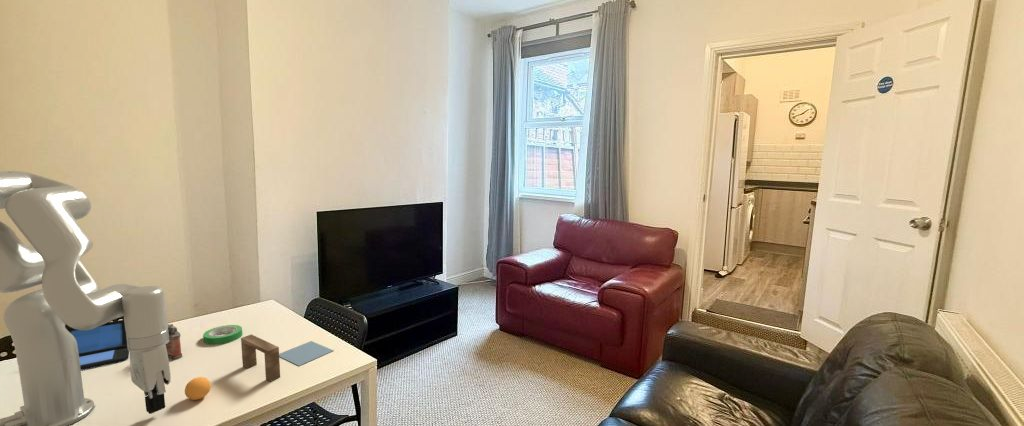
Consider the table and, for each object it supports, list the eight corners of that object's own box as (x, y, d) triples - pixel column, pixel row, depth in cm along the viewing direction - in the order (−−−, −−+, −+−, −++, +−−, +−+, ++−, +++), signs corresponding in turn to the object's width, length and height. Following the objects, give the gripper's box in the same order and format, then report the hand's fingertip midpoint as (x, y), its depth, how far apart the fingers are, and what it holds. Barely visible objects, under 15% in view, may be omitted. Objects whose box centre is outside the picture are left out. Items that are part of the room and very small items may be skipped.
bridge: (269, 381, 119) (268, 351, 117) (242, 366, 126) (240, 337, 125) (280, 376, 121) (278, 347, 120) (253, 362, 128) (251, 334, 127)
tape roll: (207, 334, 147) (207, 327, 147) (244, 329, 152) (244, 322, 151) (200, 347, 137) (199, 340, 137) (239, 342, 142) (239, 335, 141)
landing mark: (298, 366, 127) (298, 365, 127) (276, 355, 133) (276, 354, 133) (333, 351, 137) (333, 350, 137) (311, 341, 143) (311, 340, 143)
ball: (191, 406, 106) (189, 386, 105) (181, 399, 109) (179, 380, 108) (215, 396, 111) (214, 377, 110) (205, 389, 114) (204, 370, 113)
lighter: (159, 354, 132) (156, 324, 130) (172, 350, 135) (169, 320, 133) (172, 361, 128) (169, 330, 126) (185, 356, 131) (182, 326, 129)
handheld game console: (53, 377, 118) (49, 346, 116) (62, 358, 128) (58, 329, 126) (128, 361, 127) (125, 332, 126) (131, 344, 138) (128, 318, 136)
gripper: (116, 336, 100) (124, 407, 103) (140, 353, 92) (149, 429, 95) (155, 326, 106) (162, 392, 109) (181, 341, 99) (188, 412, 101)
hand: (156, 409), depth 102 cm, fingers closed
